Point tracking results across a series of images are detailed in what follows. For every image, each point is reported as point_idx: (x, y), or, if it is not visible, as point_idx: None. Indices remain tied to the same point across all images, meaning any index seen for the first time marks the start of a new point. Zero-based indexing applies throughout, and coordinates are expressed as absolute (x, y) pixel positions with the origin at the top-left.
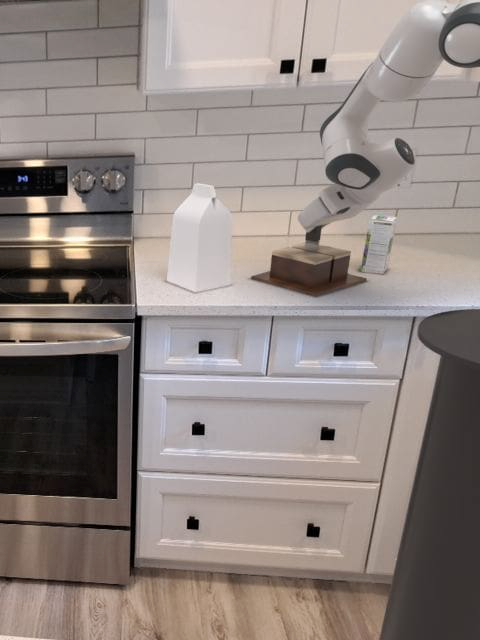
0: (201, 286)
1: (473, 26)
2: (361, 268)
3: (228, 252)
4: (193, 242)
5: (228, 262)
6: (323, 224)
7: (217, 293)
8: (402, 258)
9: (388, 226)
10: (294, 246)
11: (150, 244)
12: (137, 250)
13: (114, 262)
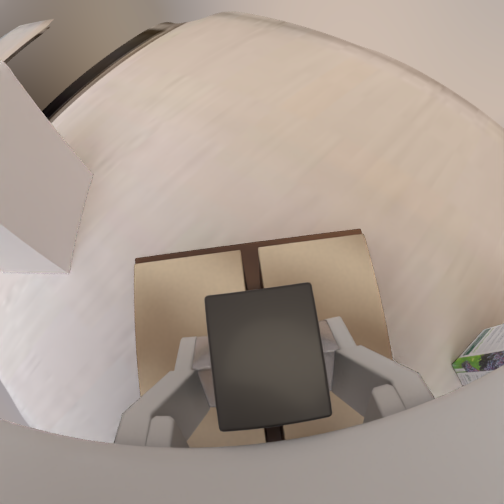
0: (5, 268)
1: None
2: (457, 365)
3: (4, 232)
4: None
5: (24, 246)
6: (338, 385)
7: (18, 303)
8: None
9: None
10: (266, 258)
11: (197, 29)
12: (154, 43)
13: (78, 80)
